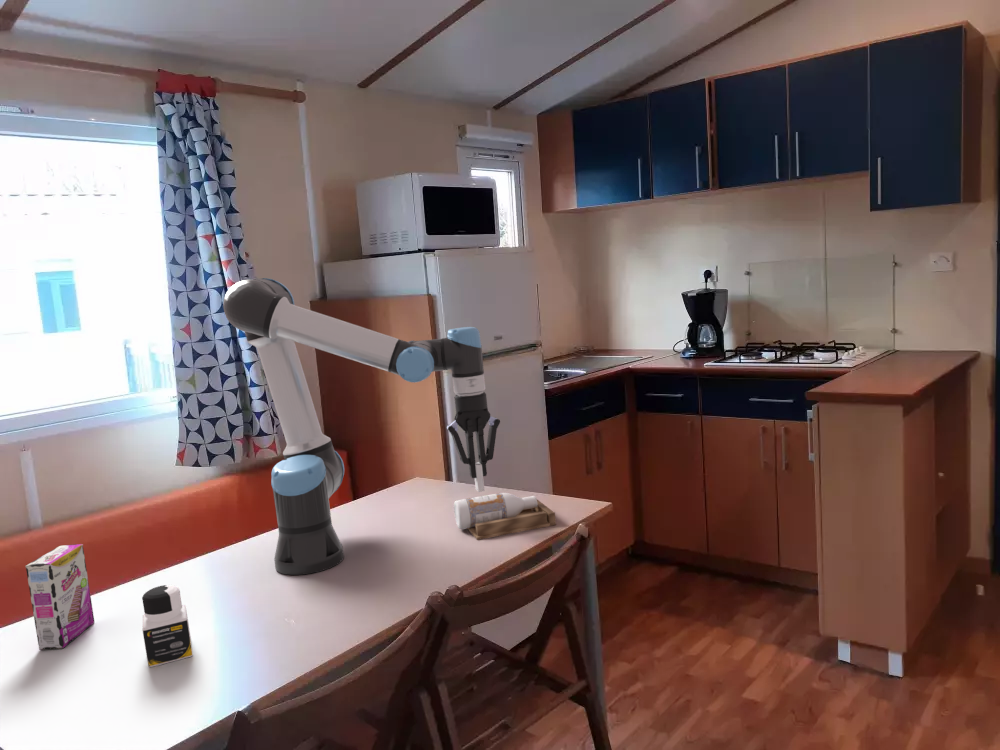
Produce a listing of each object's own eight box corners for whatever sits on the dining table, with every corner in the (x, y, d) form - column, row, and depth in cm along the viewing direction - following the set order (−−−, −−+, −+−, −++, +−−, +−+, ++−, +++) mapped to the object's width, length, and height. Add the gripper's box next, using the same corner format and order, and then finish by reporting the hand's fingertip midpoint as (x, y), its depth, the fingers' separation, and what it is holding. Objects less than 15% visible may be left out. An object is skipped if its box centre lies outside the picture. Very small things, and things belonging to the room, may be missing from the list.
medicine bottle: (148, 668, 135) (137, 601, 134) (148, 651, 142) (138, 587, 140) (193, 657, 138) (182, 591, 136) (191, 640, 145) (181, 578, 143)
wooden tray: (476, 540, 184) (475, 527, 183) (462, 523, 197) (461, 510, 197) (555, 525, 189) (554, 512, 189) (536, 509, 203) (535, 497, 202)
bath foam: (452, 497, 193) (530, 483, 198) (454, 524, 195) (532, 510, 200) (458, 505, 187) (539, 492, 192) (461, 533, 188) (541, 519, 193)
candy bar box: (64, 649, 146) (49, 564, 144) (38, 651, 146) (22, 566, 144) (97, 622, 157) (83, 542, 155) (72, 624, 157) (58, 544, 155)
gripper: (446, 399, 182) (457, 498, 185) (501, 391, 185) (510, 489, 188) (439, 394, 189) (450, 491, 192) (492, 387, 192) (501, 482, 196)
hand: (480, 490), depth 190 cm, fingers closed
